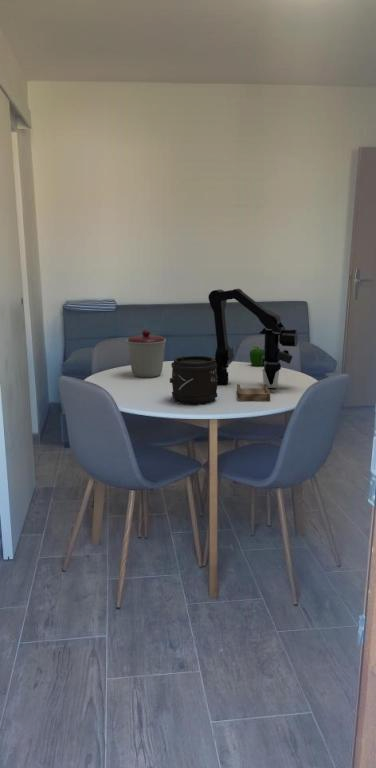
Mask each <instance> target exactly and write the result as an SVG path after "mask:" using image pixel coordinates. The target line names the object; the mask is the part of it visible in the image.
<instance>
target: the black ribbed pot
mask: <svg viewBox="0 0 376 768" xmlns="http://www.w3.org/2000/svg"><path fill="white" fill-rule="evenodd" d="M170 365H171V368H172V371H171V378H169V384H171V385H172V386H171V387H172V392H171V395H172V399H174V401H175V403H177V402H179V403H178V404H181V403H182V404H181V405H186V404H188V405H189V406H198V404H201V405H207V404H206V403H209V404H211V403H214V402H215V401H216V399H217V397H218V392H217V390H218V385H217V369H216V368H217V367H218V366H217V364H216V362H215V357H211V356H205V355H185V356H179V357H175V358H174V359H173V362H171V364H170ZM210 402H211V403H210Z"/></svg>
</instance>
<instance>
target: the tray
mask: <svg viewBox="0 0 376 768" xmlns="http://www.w3.org/2000/svg"><path fill="white" fill-rule="evenodd" d="M236 393H237V401H238V402H271V392H270V388H268V386H267V385H263V388H261V387H260V388H257V387H256V388H253V387H252V388H250V387H249V388H243V387H241V384H236Z"/></svg>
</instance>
